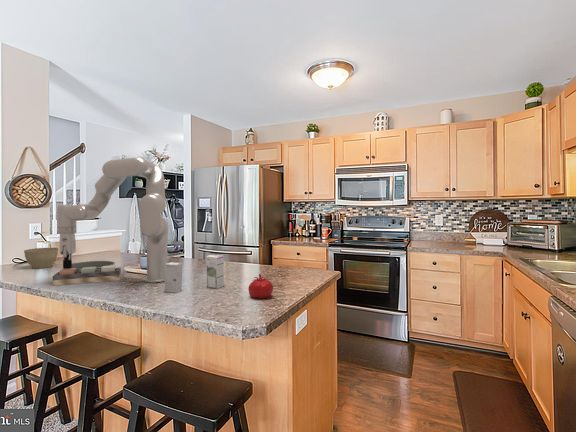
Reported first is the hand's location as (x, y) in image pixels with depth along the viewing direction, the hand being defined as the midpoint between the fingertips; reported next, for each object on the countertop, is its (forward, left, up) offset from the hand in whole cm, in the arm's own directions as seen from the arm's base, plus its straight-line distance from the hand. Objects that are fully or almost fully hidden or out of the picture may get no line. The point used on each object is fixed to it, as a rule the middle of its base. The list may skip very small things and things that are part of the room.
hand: (67, 268), depth 150 cm
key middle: (-9, 0, -2) cm, 9 cm away
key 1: (0, 0, -3) cm, 3 cm away
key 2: (-17, 0, -3) cm, 17 cm away
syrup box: (-64, +37, -7) cm, 74 cm away
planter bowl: (+23, -51, -7) cm, 56 cm away
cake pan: (-6, -24, -7) cm, 26 cm away
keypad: (-9, 0, -7) cm, 11 cm away
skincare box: (-46, +37, -7) cm, 59 cm away
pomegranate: (-78, +60, -7) cm, 99 cm away
